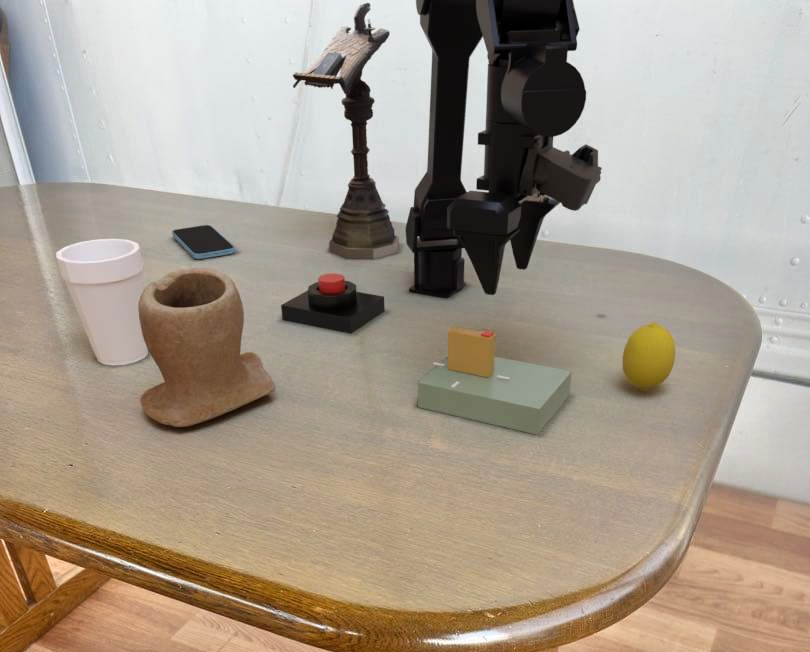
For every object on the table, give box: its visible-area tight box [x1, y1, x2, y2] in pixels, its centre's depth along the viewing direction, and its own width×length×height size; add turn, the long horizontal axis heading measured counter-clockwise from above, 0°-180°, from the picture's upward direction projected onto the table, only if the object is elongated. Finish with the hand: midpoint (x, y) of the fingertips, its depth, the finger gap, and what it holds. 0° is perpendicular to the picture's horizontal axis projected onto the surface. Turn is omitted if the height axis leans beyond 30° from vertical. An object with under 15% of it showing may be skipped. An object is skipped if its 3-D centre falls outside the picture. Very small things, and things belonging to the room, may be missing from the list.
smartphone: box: [171, 224, 236, 260], centre depth 139 cm, size 7×1×15 cm
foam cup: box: [55, 238, 149, 366], centre depth 98 cm, size 10×9×13 cm
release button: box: [317, 272, 346, 293], centre depth 109 cm, size 4×4×2 cm
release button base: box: [280, 280, 385, 335], centre depth 111 cm, size 11×9×4 cm
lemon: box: [621, 321, 676, 392], centre depth 90 cm, size 6×6×8 cm
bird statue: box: [292, 2, 400, 260], centre depth 124 cm, size 17×13×35 cm
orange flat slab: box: [447, 326, 497, 378], centre depth 88 cm, size 5×1×5 cm, turn 62°
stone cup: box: [138, 267, 276, 428], centre depth 86 cm, size 15×12×15 cm
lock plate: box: [417, 356, 573, 436], centre depth 90 cm, size 15×10×3 cm
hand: (506, 281), depth 87 cm, fingers open, 9 cm apart
